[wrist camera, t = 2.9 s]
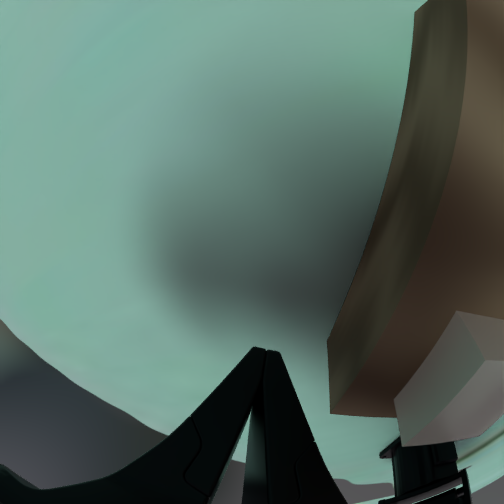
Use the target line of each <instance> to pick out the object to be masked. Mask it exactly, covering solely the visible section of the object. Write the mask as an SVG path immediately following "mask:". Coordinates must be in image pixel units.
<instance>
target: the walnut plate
mask: <svg viewBox="0 0 504 504" xmlns="http://www.w3.org/2000/svg"><path fill="white" fill-rule="evenodd" d="M456 311H461V312H466V313H471V314H476V315H481V316H487V317H492V318H497V319H502V320H504V0H428V1H427V2H426V3H424V4H423V5H422V6H421V7H420V8H419V9H418V10H417V11H415V15H414V31H413V43H412V52H411V61H410V69H409V76H408V83H407V89H406V95H405V101H404V106H403V112H402V117H401V122H400V126H399V131H398V136H397V140H396V144H395V149H394V153H393V157H392V161H391V165H390V169H389V172H388V176H387V180H386V183H385V187H384V191H383V194H382V197H381V201H380V204H379V207H378V211H377V214H376V217H375V220H374V223H373V226H372V229H371V232H370V235H369V238H368V241H367V244H366V247H365V250H364V252H363V255H362V258H361V261H360V263H359V266H358V269H357V271H356V274H355V277H354V279H353V282H352V284H351V287H350V289H349V292H348V294H347V297H346V299H345V301H344V304H343V306H342V308H341V311H340V313H339V315H338V318H337V320H336V322H335V325H334V327H333V329H332V331H331V333H330V336H329V338H328V340H327V350H328V368H329V393H330V414H338V415H349V416H364V417H391V418H397V414H396V409H395V404H394V399H395V397H396V396H397V395H398V394H399V393H400V391H401V390H402V389H403V388H404V387H405V385H406V384H407V383H408V382H409V380H410V379H411V378H412V376H413V375H414V374H415V372H416V371H417V370H418V368H419V367H420V366H421V364H422V363H423V362H424V360H425V359H426V357H427V356H428V355H429V353H430V352H431V350H432V349H433V347H434V346H435V344H436V343H437V341H438V340H439V338H440V337H441V335H442V334H443V332H444V330H445V329H446V327H447V326H448V324H449V322H450V321H451V319H452V317H453V315H454V314H455V312H456Z"/></svg>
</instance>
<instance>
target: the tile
mask: <svg viewBox="0 0 504 504" xmlns="http://www.w3.org/2000/svg"><path fill="white" fill-rule="evenodd" d="M394 404H395V409H396V414H397V419H398V425H399V431H400V437H401V443H402V447H405V446H418V445H428V444H436V443H444V442H450V441H457V440H462V439H467V438H472V437H477V436H480V435H481V434H483V433H484V432H485V431H486V430H487V429H488V428H489V427H490V426H492V425H493V424H494V423H495V422H496V421H497V420H498V419H499V418H500V417H501V416H502V415H503V414H504V320H502V319H497V318H492V317H487V316H481V315H476V314H471V313H466V312H461V311H456V312H455V314H454V315H453V317H452V319H451V321H450V322H449V324H448V326H447V327H446V329H445V330H444V332H443V334H442V335H441V337H440V338H439V340H438V341H437V343H436V344H435V346H434V347H433V349H432V350H431V352H430V353H429V355H428V356H427V357H426V359H425V360H424V362H423V363H422V364H421V366H420V367H419V368H418V370H417V371H416V372H415V374H414V375H413V376H412V378H411V379H410V380H409V382H408V383H407V384H406V385H405V387H404V388H403V389H402V390H401V391H400V393H399V394H398V395H397V396H396V397H395V399H394Z"/></svg>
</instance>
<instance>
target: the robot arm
mask: <svg viewBox="0 0 504 504" xmlns="http://www.w3.org/2000/svg"><path fill="white" fill-rule="evenodd" d="M250 412H251V415H250V425H249V435H248V445H247V455H246V465H245V476H244V485H243V495H242V503H241V504H348V503H347V502H346V500H345V498H344V497H343V495H342V494H341V492H340V490H339V488H338V487H337V485H336V483H335V482H334V480H333V478H332V476H331V474H330V473H329V471H328V469H327V467H326V465H325V463H324V461H323V458H322V456H321V454H320V452H319V449H318V447H317V444H316V442H314V441H315V439H314V437H313V434H312V432H311V429H310V427H309V424H308V422H307V419H306V417H305V414H304V412H303V409H302V407H301V404H300V402H299V399H298V397H297V394H296V392H295V389H294V387H293V384H292V382H291V379H290V376H289V374H288V371H287V369H286V366H285V364H284V361H283V359H282V356H281V354H280V352H278V351H273V350H267V351H266V349H264V348H259V347H252V348H251V350H250V351H249V352H248V353H247V354H246V355H245V356H244V358H243V359H242V360H241V361H240V362H239V363H238V364H237V365H236V367H235V368H234V369H233V370H232V371H231V372H230V373H229V374H228V375H227V377H226V378H225V379H224V380H223V381H222V382H221V383H220V384H219V385H218V386H217V387H216V389H215V390H214V391H213V392H212V393H211V394H210V395H209V396H208V397H207V398H206V399H205V400H204V401H203V402H202V403H201V405H200V406H199V407H198V408H197V409H196V410H195V411H194V412H193V413H192V414H191V415H190V416H189V417H188V418H187V419H186V420H185V421H184V422H183V423H182V424H181V425H180V426H179V427H178V428H177V429H176V430H174V431H173V432H172V433H171V434H170V435H169V436H168V437H166V438H165V439H164V440H163V441H161V442H160V443H159V444H158V445H156V446H155V447H153V448H152V449H150V450H149V451H148V452H146V453H145V454H143V455H142V456H140V457H139V458H137V459H136V460H134V461H133V462H131V463H130V464H128V465H127V466H125V467H124V468H122V469H121V470H118V471H117V472H115V473H113V474H110V475H108V476H106V477H103V478H100V479H96V480H91V481H87V482H83V483H79V484H74V485H69V486H63V487H57V488H52V489H39V488H38V487H36V486H34V485H33V484H31V483H30V482H28V481H27V480H25V479H23V478H22V477H21V476H19V475H17V474H16V473H15V472H13V471H12V470H11V469H9V468H8V467H6V466H4V465H2V464H0V504H211V503H212V501H213V499H214V496H215V494H216V492H217V490H218V488H219V486H220V483H221V481H222V479H223V477H224V474H225V472H226V470H227V468H228V465H229V463H230V461H231V458H232V456H233V454H234V451H235V449H236V447H237V444H238V442H239V439H240V437H241V435H242V432H243V430H244V427H245V425H246V422H247V420H248V417H249V414H250ZM379 456H380V458H381V459H384V458H392V466H393V476H394V489H395V497H393V498H390V499H386V500H385V499H384V500H380V501H379V502H378V504H412V503H414V504H472V498H471V490H470V485H469V479H468V474H467V471H466V468H465V469H463V470H461V471H460V472H459V473H458V469H457V464H456V460H457V459H458V457H457V453H456V448H455V444H454V441H450V442H444V443H436V444H428V445H418V446H405V447H402V443H401V437H400V438H398V439H397V440H396V441H395V442H394V443H393V444H391V445H390V446H389V447H388V448H387V449H385V450H384V451H383V452H382V453H380V454H379ZM460 484H463V487H460V488H458V489H456V488H453V487H456V486H458V485H460ZM451 488H453V489H451ZM449 489H451V490H449ZM446 490H448V491H446ZM444 491H446V492H444ZM442 492H444V493H442ZM439 493H441V494H439ZM437 494H439V495H437ZM434 495H436V496H434ZM432 496H434V497H432ZM429 497H431V498H429ZM426 498H428V499H426ZM423 499H426V500H423ZM421 500H423V501H421ZM418 501H420V502H418ZM415 502H417V503H415Z"/></svg>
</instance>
